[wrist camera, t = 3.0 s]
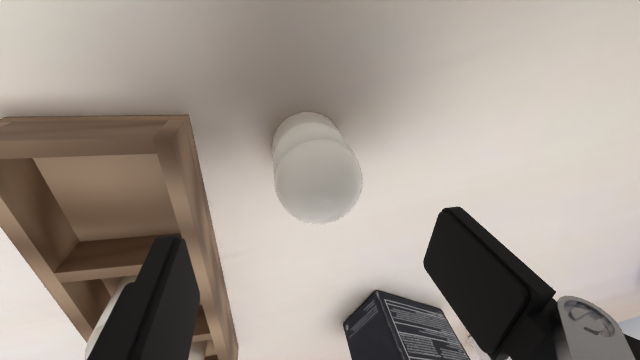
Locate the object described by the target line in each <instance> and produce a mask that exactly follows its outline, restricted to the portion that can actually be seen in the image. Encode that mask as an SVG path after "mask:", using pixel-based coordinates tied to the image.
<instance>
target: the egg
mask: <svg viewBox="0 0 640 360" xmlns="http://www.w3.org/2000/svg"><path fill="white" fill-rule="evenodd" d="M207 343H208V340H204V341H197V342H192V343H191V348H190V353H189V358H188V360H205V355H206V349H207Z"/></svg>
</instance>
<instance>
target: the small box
mask: <svg viewBox="0 0 640 360" xmlns="http://www.w3.org/2000/svg"><path fill="white" fill-rule="evenodd" d="M343 327H344V331H345V335H346V339H347V342H348V346H349V350H350V354H351V358H352V360H470V358H469V356H468V355H467V353H466V351H465V350H464V348H463V346H462V345H461V343H460V341H459V340H458V338H457V336H456V334H455V333H454V331H453V329H452V327H451V326H450V324H449V322H448V320H447V319H446V317H445V315H444V313H443V311H442V310H441V309H438V308H435V307H431V306H428V305H424V304H421V303H417V302H414V301H411V300H407V299H404V298H400V297H397V296H394V295H390V294H387V293H383V292H380V291H376V292H375V293H374V294H373V295H372V296H371V297H370V298H369V299H368V300H367V301H366V302H365V303H364V304H363V305H362V306H361V307H360V308H359V309H358V310H357V311H356V312H355V313H354V314H353V315H352V316H350V318H349V319H348V320H347V321H346V322H345V323H344V324H343Z"/></svg>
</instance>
